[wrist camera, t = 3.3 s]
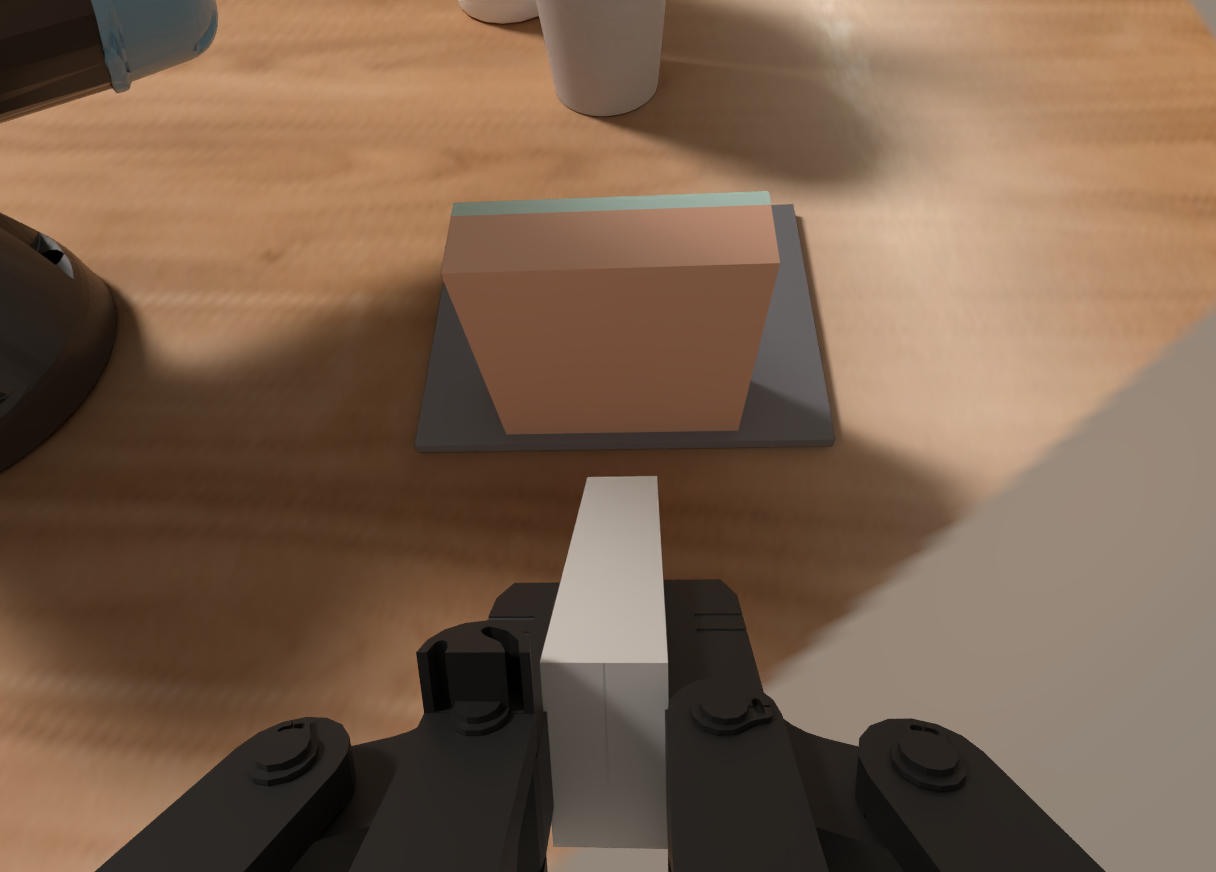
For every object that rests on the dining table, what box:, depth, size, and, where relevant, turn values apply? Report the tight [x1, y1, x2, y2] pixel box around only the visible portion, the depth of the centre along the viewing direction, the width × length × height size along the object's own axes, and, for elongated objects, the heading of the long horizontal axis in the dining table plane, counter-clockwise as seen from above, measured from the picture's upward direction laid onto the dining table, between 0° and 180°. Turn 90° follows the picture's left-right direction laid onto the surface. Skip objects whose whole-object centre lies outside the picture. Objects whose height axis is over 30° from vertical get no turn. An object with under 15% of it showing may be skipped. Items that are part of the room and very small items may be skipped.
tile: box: [441, 191, 780, 434], centre depth 24 cm, size 10×3×10 cm, turn 89°
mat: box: [415, 204, 835, 452], centre depth 31 cm, size 18×14×1 cm
